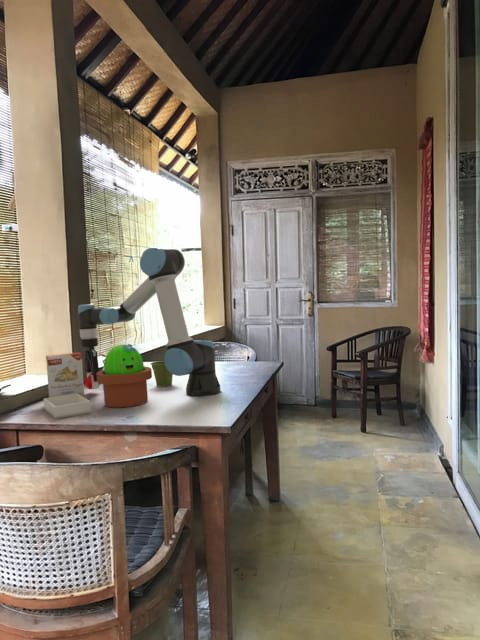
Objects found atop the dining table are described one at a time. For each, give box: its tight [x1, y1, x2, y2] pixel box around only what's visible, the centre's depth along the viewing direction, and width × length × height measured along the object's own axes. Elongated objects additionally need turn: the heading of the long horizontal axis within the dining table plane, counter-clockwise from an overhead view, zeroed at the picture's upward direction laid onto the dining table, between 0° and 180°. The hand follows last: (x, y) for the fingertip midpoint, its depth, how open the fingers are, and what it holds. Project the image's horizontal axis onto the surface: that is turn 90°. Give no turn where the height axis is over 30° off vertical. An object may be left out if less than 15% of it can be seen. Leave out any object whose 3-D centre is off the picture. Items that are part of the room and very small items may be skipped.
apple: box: [84, 375, 101, 390], centre depth 231 cm, size 7×7×8 cm
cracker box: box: [45, 352, 86, 398], centre depth 215 cm, size 14×6×21 cm, turn 118°
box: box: [43, 393, 92, 420], centre depth 199 cm, size 20×13×4 cm, turn 32°
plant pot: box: [149, 360, 173, 388], centre depth 242 cm, size 12×12×11 cm
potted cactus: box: [97, 343, 153, 409], centre depth 207 cm, size 22×22×25 cm
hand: (93, 387), depth 231 cm, fingers closed on apple, 7 cm apart
